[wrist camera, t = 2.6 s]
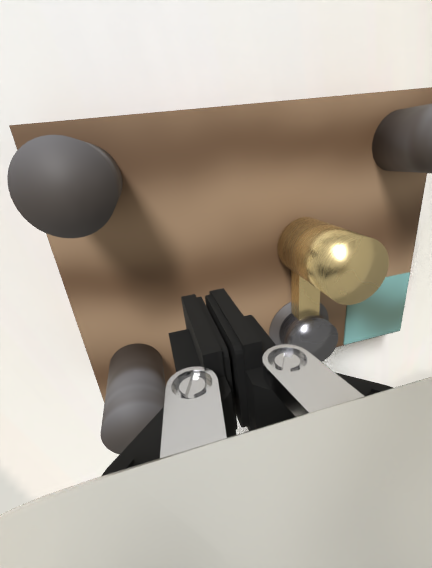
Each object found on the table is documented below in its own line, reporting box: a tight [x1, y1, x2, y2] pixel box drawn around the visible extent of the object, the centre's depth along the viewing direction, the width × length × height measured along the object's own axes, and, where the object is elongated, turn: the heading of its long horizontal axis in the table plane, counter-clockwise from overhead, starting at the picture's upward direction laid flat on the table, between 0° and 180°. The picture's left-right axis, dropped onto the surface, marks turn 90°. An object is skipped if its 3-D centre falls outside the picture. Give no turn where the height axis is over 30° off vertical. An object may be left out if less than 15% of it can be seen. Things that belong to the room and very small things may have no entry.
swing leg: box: [277, 217, 389, 362], centre depth 17 cm, size 9×3×5 cm, turn 7°
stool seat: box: [8, 88, 432, 454], centre depth 17 cm, size 16×22×8 cm
